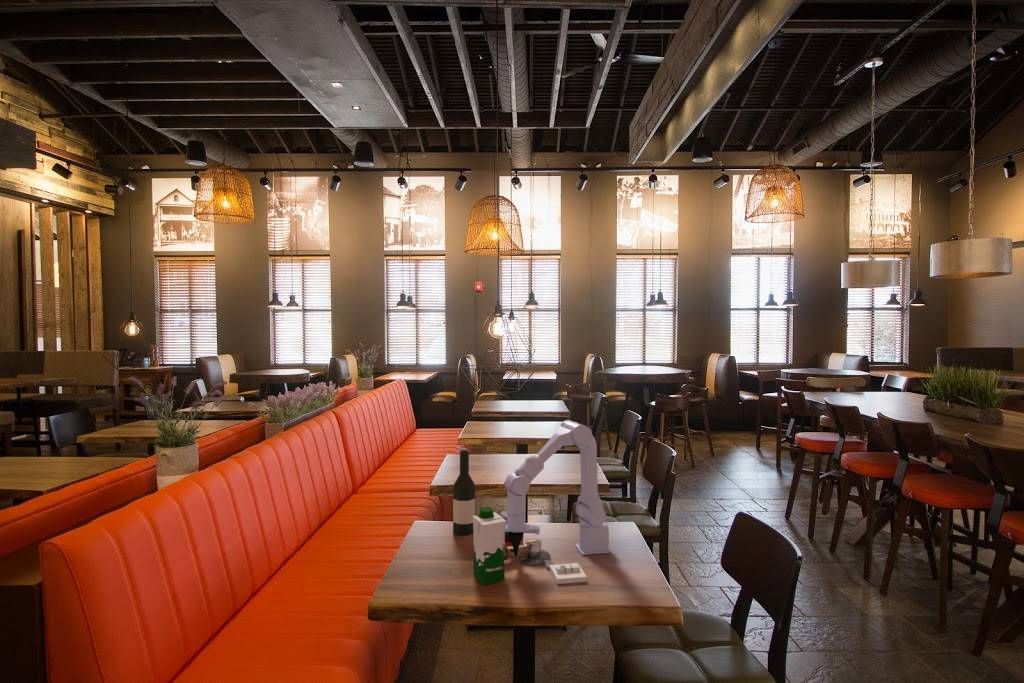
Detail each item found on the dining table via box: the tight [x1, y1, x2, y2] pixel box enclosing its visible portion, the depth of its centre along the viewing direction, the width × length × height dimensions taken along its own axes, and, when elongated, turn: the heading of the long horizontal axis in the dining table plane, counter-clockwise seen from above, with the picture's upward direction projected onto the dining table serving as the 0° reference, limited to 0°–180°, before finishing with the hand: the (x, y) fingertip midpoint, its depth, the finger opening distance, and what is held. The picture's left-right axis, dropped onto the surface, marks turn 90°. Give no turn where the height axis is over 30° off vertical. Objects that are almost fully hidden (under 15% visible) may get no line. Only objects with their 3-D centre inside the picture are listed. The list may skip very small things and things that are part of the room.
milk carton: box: [472, 506, 506, 586], centre depth 162 cm, size 9×9×20 cm
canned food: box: [500, 509, 524, 547], centre depth 186 cm, size 8×8×11 cm
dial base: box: [515, 549, 554, 571], centre depth 175 cm, size 11×14×1 cm
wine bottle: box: [452, 447, 476, 537], centre depth 197 cm, size 8×8×30 cm
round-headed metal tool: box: [504, 538, 542, 561], centre depth 175 cm, size 14×5×5 cm, turn 111°
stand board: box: [548, 562, 588, 585], centre depth 164 cm, size 9×9×4 cm
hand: (515, 555), depth 172 cm, fingers closed, pressing on round-headed metal tool
